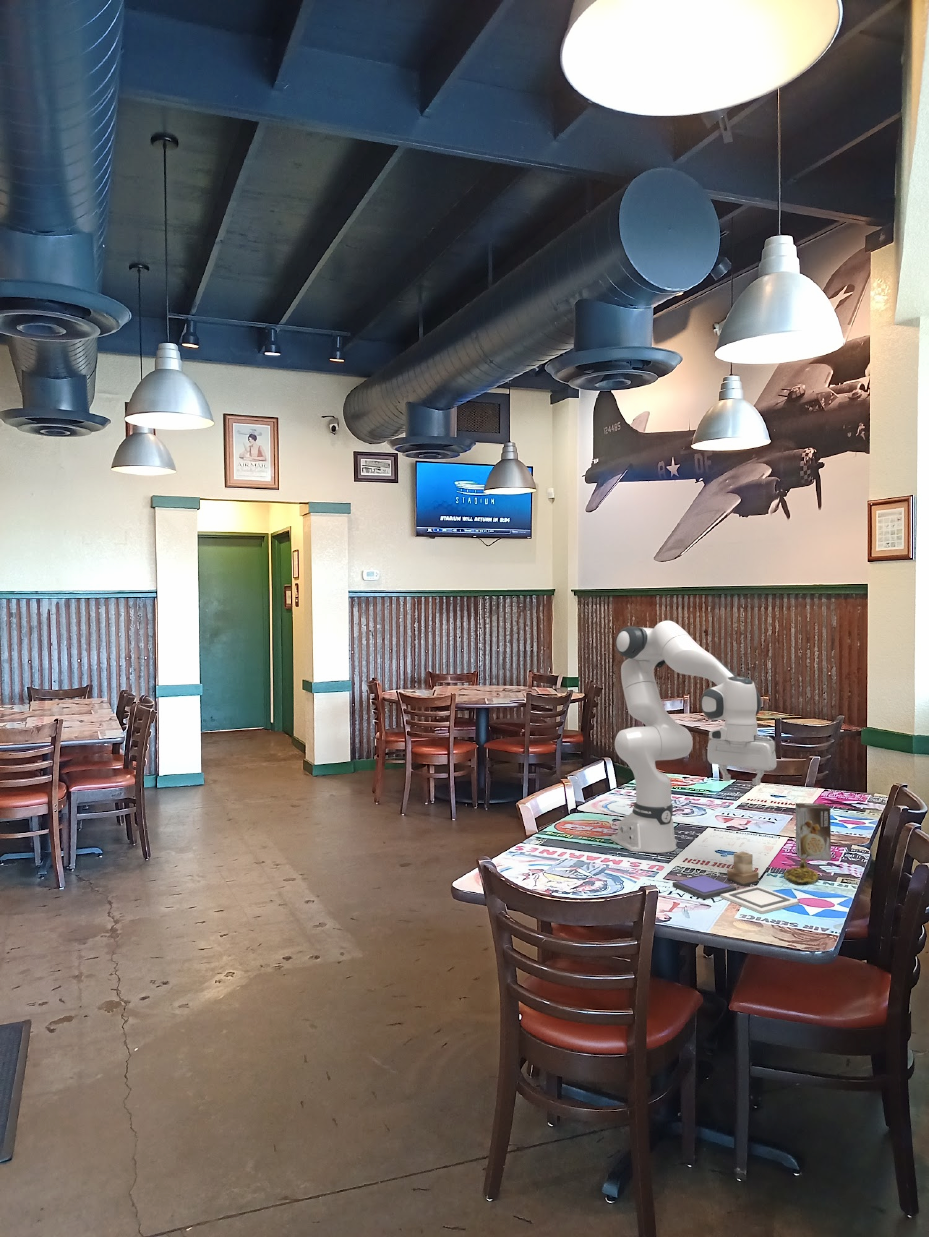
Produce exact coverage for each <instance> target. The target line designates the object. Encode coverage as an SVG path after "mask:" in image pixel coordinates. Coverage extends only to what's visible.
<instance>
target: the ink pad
mask: <svg viewBox="0 0 929 1237" xmlns="http://www.w3.org/2000/svg"><path fill="white" fill-rule="evenodd" d="M673 886H674V887H673ZM672 887H673V888H675V887H677V888H678V889H677V888H676V889H677V890H680V889H681V890H680V891H683V892H685V893H687V892H688V894H689V895H692V896H694V895H695V896H694V897H697V898H699V897H700V899H702V900H704V899H705V900H708V899H712V898H717V897H721V894H725V893H729V892H733V891H737V887H736V886H735V885H734V886H733V885H731V884H729V883H726V882H723V881H720V880H718V879H715V878H714V877H713V878H712V877H710V876H707V875H705V874H702V875H698V876H694V877H689V878H685V879H680V880H677V881H673V882H672Z"/></svg>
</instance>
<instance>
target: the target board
mask: <svg viewBox="0 0 929 1237" xmlns="http://www.w3.org/2000/svg"><path fill="white" fill-rule="evenodd" d="M720 898H721V899H724V900H727V901H729V902H731V903H733V904H736V905H739V906H741V907H743V908H746V909H749V910H751V911H753V912H756V913H758V914H761V915H764V914H767V913H771V912H774V911H779V910H781V909H786V908H790V907H793V906H798V905H800V900H798V899H796V898H795V899H794V898H793V897H790V896H786V895H784V894H782V893H779V892H776V891H774V890H773V891H772V890H770V889H767V888H765V887H763V886H760V885H754V886H750V887H749V886H748V887H745V888H742V889H738V890H737V889H736V891H733V892H729V893H725V894H721V896H720Z"/></svg>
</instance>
